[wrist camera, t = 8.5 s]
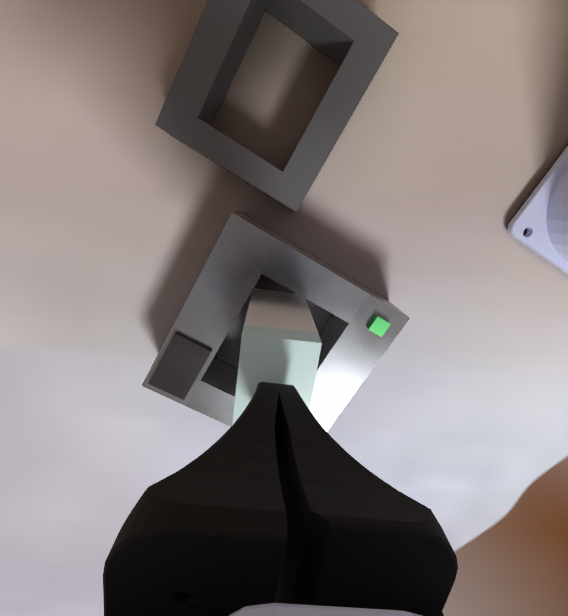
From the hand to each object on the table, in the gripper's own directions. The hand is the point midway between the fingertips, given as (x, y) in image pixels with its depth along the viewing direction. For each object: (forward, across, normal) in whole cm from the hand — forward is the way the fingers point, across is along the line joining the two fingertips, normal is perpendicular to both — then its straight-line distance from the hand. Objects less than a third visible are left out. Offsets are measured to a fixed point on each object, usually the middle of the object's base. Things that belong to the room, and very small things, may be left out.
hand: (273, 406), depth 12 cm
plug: (+8, 0, 0) cm, 8 cm away
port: (+8, 0, 0) cm, 8 cm away
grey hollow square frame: (+8, +2, -12) cm, 14 cm away
